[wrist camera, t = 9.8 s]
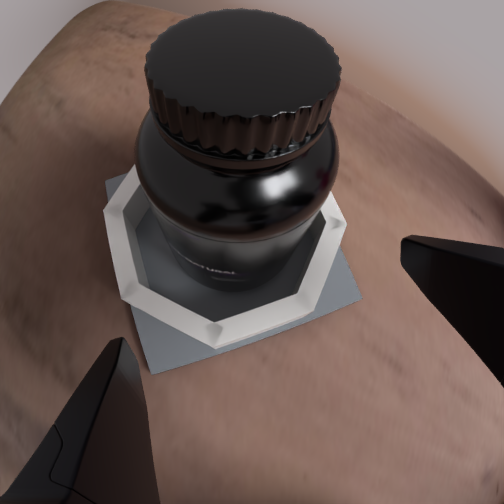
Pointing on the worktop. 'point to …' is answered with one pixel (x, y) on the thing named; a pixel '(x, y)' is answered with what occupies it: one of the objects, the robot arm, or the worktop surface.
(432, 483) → the worktop surface
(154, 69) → the supplement bottle
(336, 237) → the collar seat
